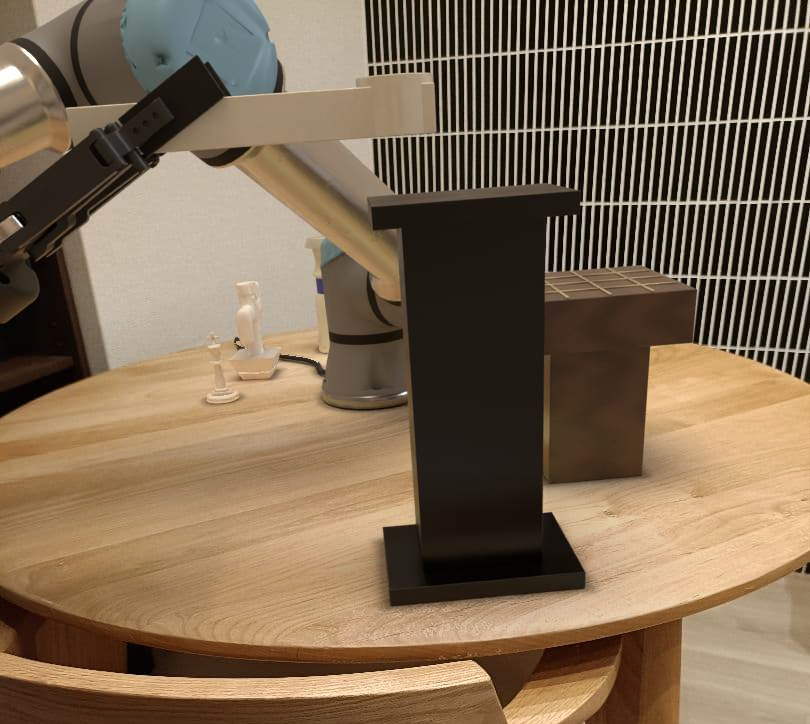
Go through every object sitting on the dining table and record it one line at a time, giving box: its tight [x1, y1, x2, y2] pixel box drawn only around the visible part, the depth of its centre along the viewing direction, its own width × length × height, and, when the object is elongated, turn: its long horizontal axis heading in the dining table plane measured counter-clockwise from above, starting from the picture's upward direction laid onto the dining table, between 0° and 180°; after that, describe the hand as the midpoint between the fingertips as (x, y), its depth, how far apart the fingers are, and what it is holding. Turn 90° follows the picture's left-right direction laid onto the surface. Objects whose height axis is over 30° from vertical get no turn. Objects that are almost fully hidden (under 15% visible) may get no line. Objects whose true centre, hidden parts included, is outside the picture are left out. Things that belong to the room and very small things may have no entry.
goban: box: [543, 264, 698, 484], centre depth 87 cm, size 16×16×20 cm
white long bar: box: [66, 72, 437, 154], centre depth 56 cm, size 24×5×4 cm, turn 94°
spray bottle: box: [304, 234, 330, 354], centre depth 143 cm, size 8×9×25 cm
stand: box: [367, 182, 587, 607], centre depth 65 cm, size 16×12×30 cm
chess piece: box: [206, 331, 240, 405], centre depth 122 cm, size 5×5×10 cm
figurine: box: [228, 280, 283, 381], centre depth 132 cm, size 7×9×15 cm
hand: (215, 78), depth 54 cm, fingers closed on white long bar, 4 cm apart
